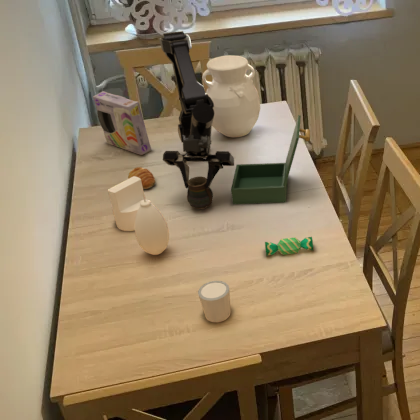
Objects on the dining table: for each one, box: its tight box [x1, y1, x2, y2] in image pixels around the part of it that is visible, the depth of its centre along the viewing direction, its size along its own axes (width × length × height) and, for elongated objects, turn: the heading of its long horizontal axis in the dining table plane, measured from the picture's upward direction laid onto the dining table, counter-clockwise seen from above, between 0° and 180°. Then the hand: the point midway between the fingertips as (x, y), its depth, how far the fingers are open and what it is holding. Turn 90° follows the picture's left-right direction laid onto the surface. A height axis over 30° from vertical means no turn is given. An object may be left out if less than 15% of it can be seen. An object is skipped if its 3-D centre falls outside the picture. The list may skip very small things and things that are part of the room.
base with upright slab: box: [107, 176, 145, 232], centre depth 177 cm, size 9×9×12 cm
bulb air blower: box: [134, 192, 170, 256], centre depth 163 cm, size 8×8×18 cm
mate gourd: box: [186, 175, 214, 210], centre depth 183 cm, size 7×8×10 cm
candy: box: [264, 236, 314, 257], centre depth 167 cm, size 12×3×4 cm
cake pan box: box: [92, 90, 152, 156], centre depth 214 cm, size 19×5×18 cm, turn 55°
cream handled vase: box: [201, 54, 261, 138], centre depth 221 cm, size 19×18×25 cm
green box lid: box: [283, 114, 311, 186], centre depth 187 cm, size 16×15×4 cm
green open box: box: [230, 162, 289, 205], centre depth 192 cm, size 15×15×5 cm
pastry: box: [127, 166, 157, 190], centre depth 197 cm, size 9×7×4 cm
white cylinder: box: [197, 280, 232, 323], centre depth 146 cm, size 7×7×7 cm
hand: (196, 188), depth 181 cm, fingers closed on mate gourd, 5 cm apart
